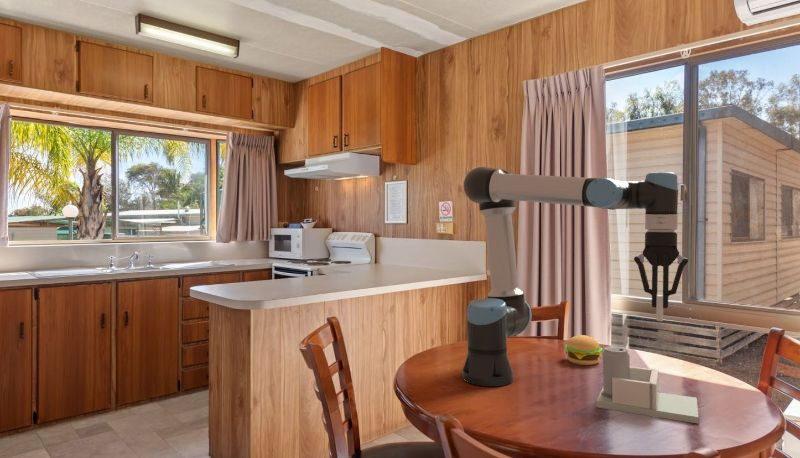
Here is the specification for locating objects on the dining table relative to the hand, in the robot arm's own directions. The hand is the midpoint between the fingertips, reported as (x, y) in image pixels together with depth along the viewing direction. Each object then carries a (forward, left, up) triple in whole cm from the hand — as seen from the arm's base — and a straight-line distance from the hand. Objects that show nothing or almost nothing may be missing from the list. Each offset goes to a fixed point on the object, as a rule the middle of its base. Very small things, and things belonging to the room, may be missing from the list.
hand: (659, 320), depth 130 cm
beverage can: (-10, -8, -19) cm, 23 cm away
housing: (-5, -8, -19) cm, 21 cm away
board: (-3, -8, -21) cm, 22 cm away
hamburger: (-24, +27, -21) cm, 41 cm away
